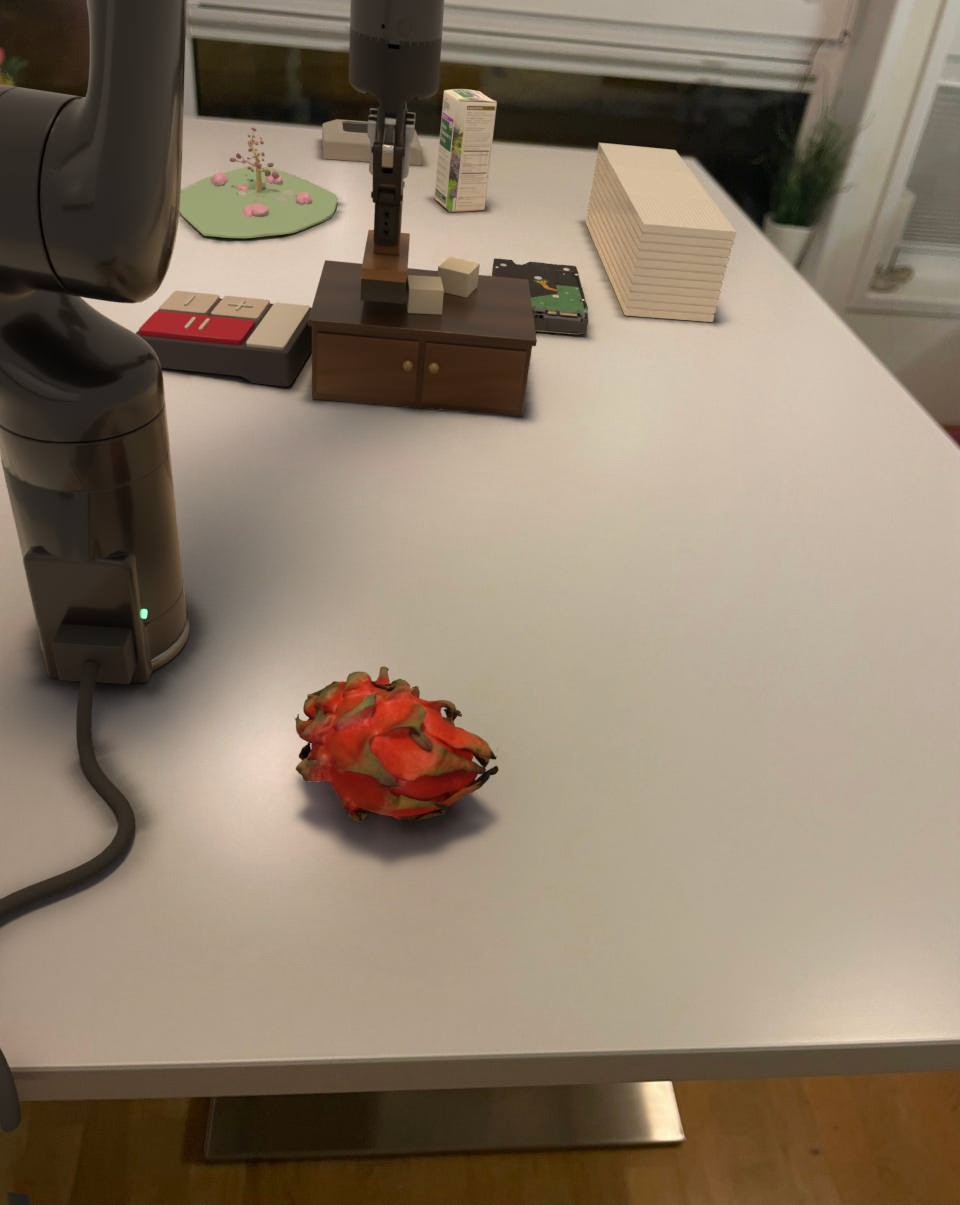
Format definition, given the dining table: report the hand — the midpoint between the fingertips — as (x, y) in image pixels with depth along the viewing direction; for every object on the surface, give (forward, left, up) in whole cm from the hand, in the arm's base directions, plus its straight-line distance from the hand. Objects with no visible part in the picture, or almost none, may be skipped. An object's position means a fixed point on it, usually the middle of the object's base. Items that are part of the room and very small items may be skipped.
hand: (386, 238), depth 93 cm
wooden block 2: (+3, -7, -5) cm, 9 cm away
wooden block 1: (-2, -4, -5) cm, 7 cm away
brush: (0, 0, -4) cm, 4 cm away
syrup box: (+54, -8, -13) cm, 56 cm away
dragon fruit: (-54, -4, -13) cm, 56 cm away
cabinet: (0, -4, -13) cm, 14 cm away
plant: (+44, +19, -13) cm, 50 cm away
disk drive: (+20, -17, -13) cm, 29 cm away
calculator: (+1, +15, -13) cm, 20 cm away
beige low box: (+75, +6, -13) cm, 76 cm away
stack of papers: (+36, -32, -13) cm, 50 cm away
